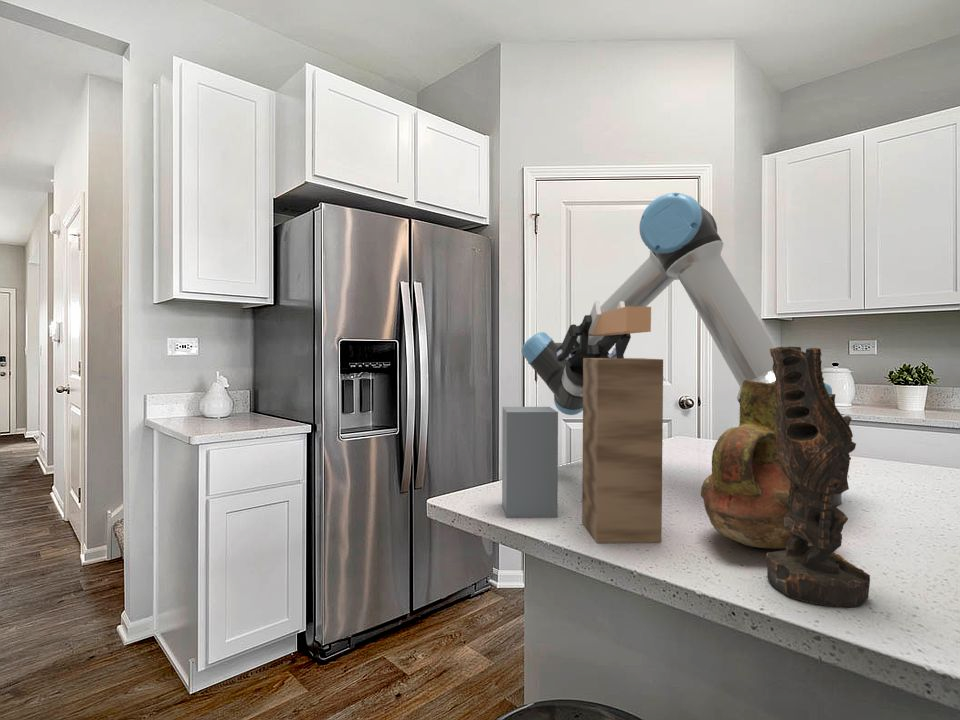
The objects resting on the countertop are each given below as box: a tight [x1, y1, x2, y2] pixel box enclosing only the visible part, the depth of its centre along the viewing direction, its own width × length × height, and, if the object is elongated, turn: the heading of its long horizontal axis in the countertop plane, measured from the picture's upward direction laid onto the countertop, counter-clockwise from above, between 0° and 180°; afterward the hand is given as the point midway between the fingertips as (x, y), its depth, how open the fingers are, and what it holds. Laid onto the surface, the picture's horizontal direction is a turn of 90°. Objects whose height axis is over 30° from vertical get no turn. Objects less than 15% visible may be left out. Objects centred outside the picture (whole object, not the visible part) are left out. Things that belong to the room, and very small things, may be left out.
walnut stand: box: [581, 357, 664, 544], centre depth 91 cm, size 10×10×28 cm
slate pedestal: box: [501, 406, 559, 519], centre depth 104 cm, size 9×9×18 cm
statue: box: [765, 346, 871, 608], centre depth 70 cm, size 10×10×30 cm
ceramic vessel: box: [700, 380, 830, 550], centre depth 87 cm, size 17×26×25 cm, turn 131°
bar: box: [588, 306, 652, 336], centre depth 95 cm, size 25×4×4 cm, turn 3°
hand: (610, 308), depth 97 cm, fingers closed on bar, 4 cm apart
